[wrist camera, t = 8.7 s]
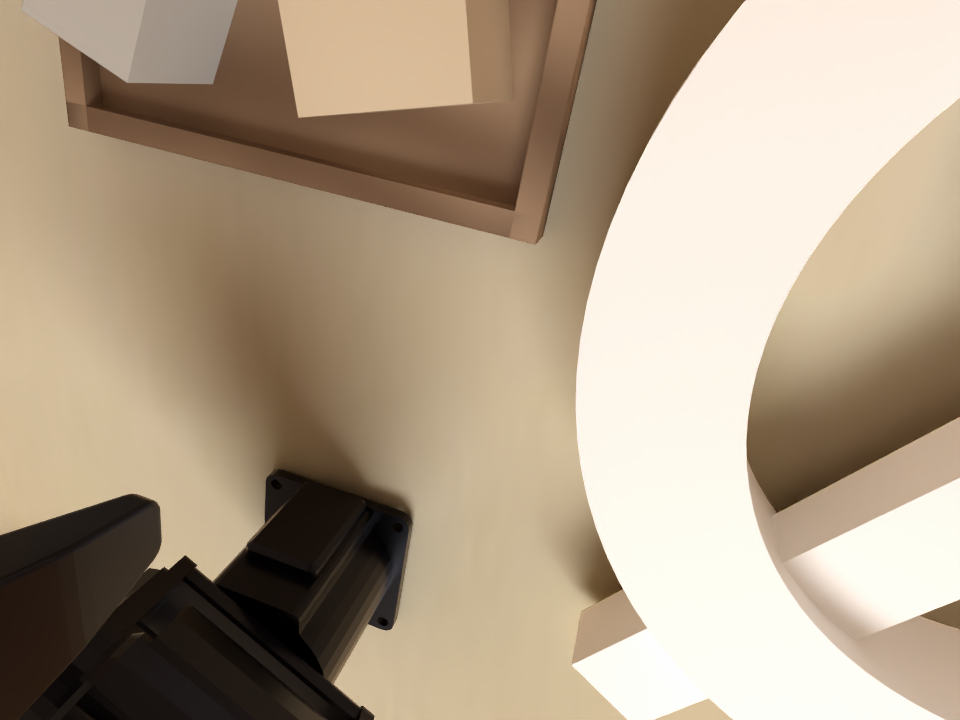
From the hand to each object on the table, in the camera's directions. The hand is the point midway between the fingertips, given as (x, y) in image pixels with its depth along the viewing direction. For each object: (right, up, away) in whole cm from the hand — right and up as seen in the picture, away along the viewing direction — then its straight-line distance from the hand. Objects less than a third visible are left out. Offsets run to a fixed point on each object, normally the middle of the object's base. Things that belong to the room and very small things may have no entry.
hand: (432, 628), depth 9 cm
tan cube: (-1, +13, +9) cm, 16 cm away
